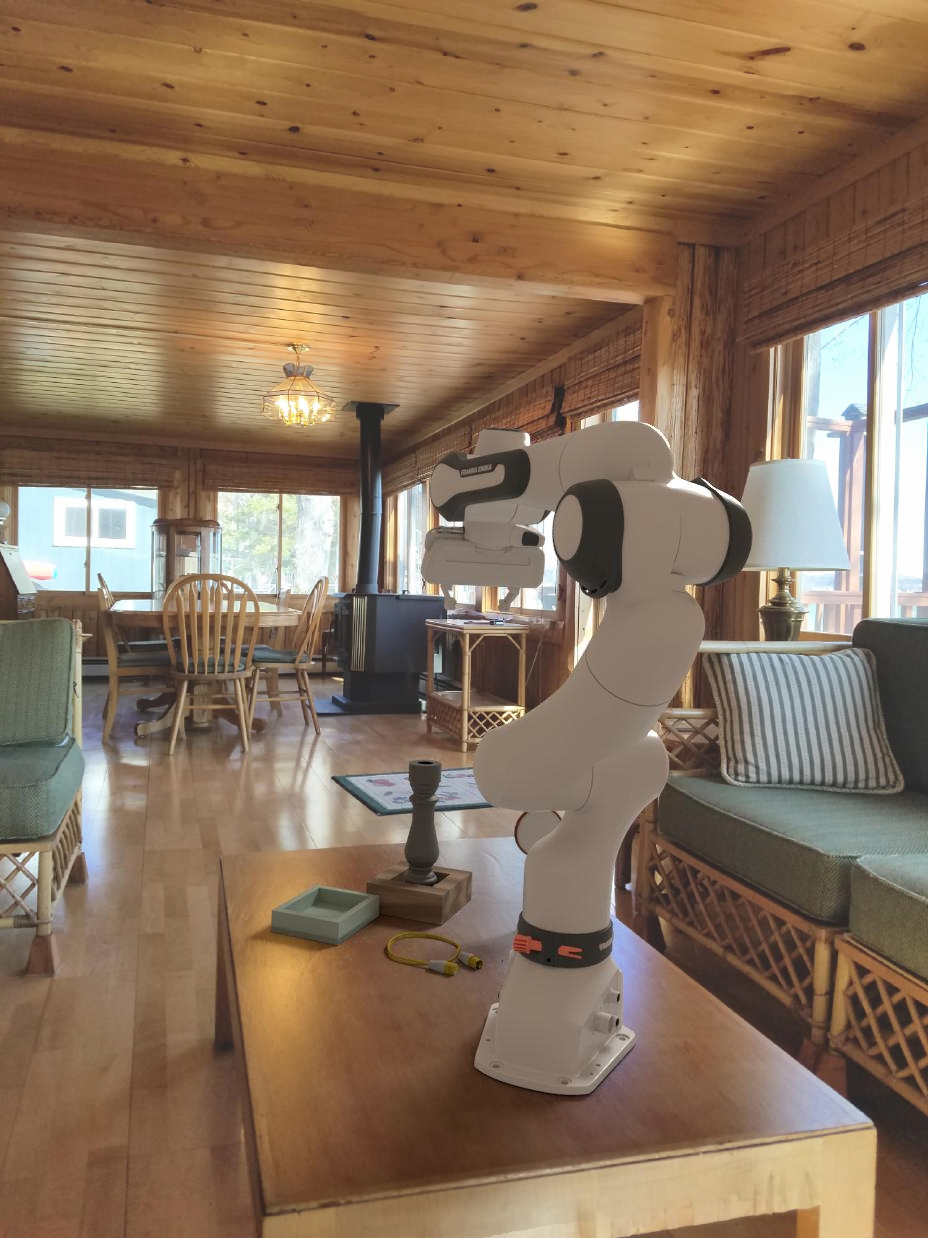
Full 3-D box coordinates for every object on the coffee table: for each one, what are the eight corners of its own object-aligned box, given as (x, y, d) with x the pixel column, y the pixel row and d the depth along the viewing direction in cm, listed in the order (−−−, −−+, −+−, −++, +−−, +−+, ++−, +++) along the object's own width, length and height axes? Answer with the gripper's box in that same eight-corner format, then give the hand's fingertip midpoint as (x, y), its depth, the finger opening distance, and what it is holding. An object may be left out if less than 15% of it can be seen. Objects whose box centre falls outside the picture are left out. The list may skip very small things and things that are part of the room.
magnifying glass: (558, 923, 151) (563, 804, 150) (561, 926, 149) (567, 807, 149) (508, 924, 149) (514, 805, 149) (511, 928, 147) (516, 807, 147)
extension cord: (405, 984, 126) (406, 970, 126) (377, 942, 141) (377, 930, 141) (486, 975, 130) (487, 962, 130) (450, 935, 145) (451, 923, 145)
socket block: (441, 925, 148) (442, 895, 147) (365, 911, 153) (366, 882, 152) (471, 899, 161) (472, 871, 161) (400, 887, 166) (401, 860, 166)
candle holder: (436, 912, 153) (442, 767, 153) (400, 910, 154) (406, 765, 153) (438, 900, 160) (443, 760, 159) (403, 898, 160) (409, 758, 159)
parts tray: (338, 945, 137) (338, 922, 137) (270, 932, 142) (271, 910, 142) (378, 916, 151) (379, 895, 150) (316, 904, 155) (316, 884, 155)
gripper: (432, 530, 137) (421, 615, 141) (554, 538, 144) (539, 618, 148) (422, 519, 142) (411, 601, 147) (540, 527, 149) (526, 605, 154)
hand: (476, 610), depth 148 cm, fingers open, 8 cm apart
